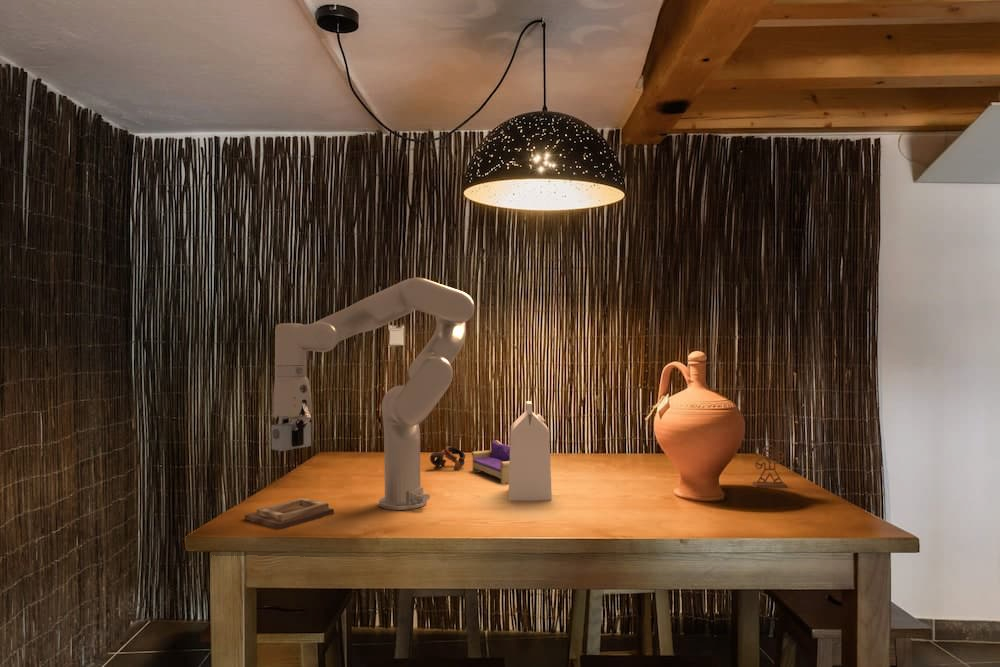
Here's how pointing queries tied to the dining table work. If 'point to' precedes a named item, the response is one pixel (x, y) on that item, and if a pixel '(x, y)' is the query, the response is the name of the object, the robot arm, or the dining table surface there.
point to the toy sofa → (493, 461)
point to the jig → (290, 513)
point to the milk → (529, 458)
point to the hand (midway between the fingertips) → (291, 443)
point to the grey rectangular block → (288, 436)
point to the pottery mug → (450, 456)
